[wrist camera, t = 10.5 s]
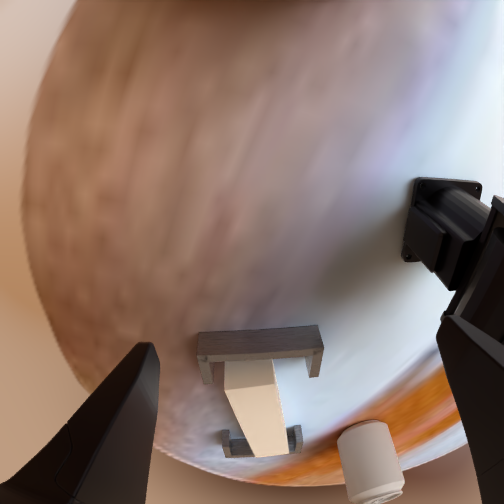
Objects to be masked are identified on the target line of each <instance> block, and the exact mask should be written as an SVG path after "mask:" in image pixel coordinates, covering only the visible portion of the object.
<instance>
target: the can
mask: <svg viewBox="0 0 504 504" xmlns="http://www.w3.org/2000/svg"><path fill="white" fill-rule="evenodd" d="M337 445H338V450H339V455H340V459H341V464H342V468H343V473H344V478H345V483H346V488H347V492H348V497H349V500H350V501H351V502H353V503H355V504H381V503H384V502H387V501H389V500H392V499H394V498H396V497H398V496H400V495H401V494H402V493H403V492H402V491H401V488H402V487H403V485H404V483H405V481H404V477H403V474H402V470H401V467H400V464H399V461H398V457H397V454H396V451H395V448H394V445H393V441H392V438H391V435H390V432H389V429H388V426H387V424H385V423H383V422H380V421H378V420H369V421H364V422H360V423H358V424H355V425H353V426H351V427H349V428H347V429H346V430H345V431H343V433H342V434H341V436H340V437H339V438H338V440H337Z"/></svg>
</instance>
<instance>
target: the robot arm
mask: <svg viewBox="0 0 504 504" xmlns="http://www.w3.org/2000/svg"><path fill="white" fill-rule="evenodd" d="M421 183H423V186H422V187H420V185H421ZM476 187H477V189H476ZM481 193H482V185H481V184H480V183H479V182H477V181H468V180H457V179H443V178H428V177H419V178H417V179H416V181H415V183H414V190H413V196H412V202H411V207H410V209H409V214H408V219H407V225H406V230H405V235H404V244H403V249H402V253H401V257H402V259H403V260H404V261H405V262H419V261H422V263H423V264H424V265H425V266H426V267H427V269H428V270H429V271H430V272H431V273H433V272H434V273H435V274H436V275H437V277H438V278H439V279H440V280H441V282H442V283H443V284H444V285H445V287H446V288H447V289H448V290H449V291H454V290H456V292H455V294H454V296H453V298H452V300H451V302H450V304H449V306H448V308H447V309H446V311H444V312H443V314H442V316H441V318H440V320H441V325H440V327H439V329H438V332H437V334H436V341H437V344H438V348H439V351H440V354H441V358H442V362H443V365H444V369H445V373H446V376H447V379H448V382H449V385H450V388H451V391H452V393H453V396H454V399H455V402H456V405H457V408H458V411H459V414H460V417H461V420H462V424H463V427H464V430H465V433H466V437H467V440H468V444H469V447H470V451H471V455H472V459H473V463H474V467H475V471H476V475H477V480H478V485H479V489H480V495H481V500H482V504H504V198H502V197H499V196H496V195H494V196H493V199H492V202H491V204H492V207H491V208H489V207H488V206H486V205H485V204H484V203H482V202H481V201H480V197H481ZM408 254H409V256H407V255H408ZM406 256H407V257H406ZM159 377H160V361H159V358H158V356H157V353H156V350H155V347H154V345H153V343H151V342H138V343H137V344H136V345H135V346H134V347H133V348H132V349H131V351H130V352H129V353H128V354H127V355H126V356H125V357H124V358H123V359H122V360H121V362H120V363H119V364H118V365H117V366H116V367H115V368H114V369H113V370H112V372H111V373H110V374H109V375H108V376H107V377H106V378H105V379H104V381H103V382H102V383H101V384H100V385H99V386H98V387H97V388H96V390H95V391H94V392H93V393H92V394H91V395H90V396H89V397H88V399H87V400H86V401H85V402H84V403H83V404H82V405H81V407H80V408H79V409H78V410H77V411H76V412H75V413H74V414H73V416H72V417H71V418H70V419H69V420H68V421H67V424H65V425H64V426H63V427H62V428H61V429H60V430H59V432H58V433H57V434H56V435H55V436H54V437H53V438H52V440H50V442H49V443H48V444H47V445H46V446H45V447H43V448H42V449H41V450H40V451H39V452H38V453H37V454H36V455H35V456H34V457H33V458H32V459H31V460H30V461H29V462H28V463H27V464H26V465H24V467H22V468H21V469H20V470H19V471H18V472H17V473H16V474H15V475H14V476H12V477H11V478H10V479H9V480H7V481H5V482H3V483H1V484H0V504H145V500H146V491H147V483H148V475H149V468H150V467H149V466H150V460H151V453H152V446H153V440H154V433H155V427H156V420H157V413H158V395H159Z"/></svg>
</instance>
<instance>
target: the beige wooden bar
mask: <svg viewBox="0 0 504 504" xmlns="http://www.w3.org/2000/svg"><path fill="white" fill-rule="evenodd" d="M224 391H225V393H226V395H227V398H228V400H229V402H230V404H231V407H232V409H233V411H234V413H235V415H236V418H237V420H238V422H239V424H240V426H241V428H242V430H243V432H244V435H245V437H246V439H247V441H248V443H249V445H250V447H251V449H252V451H253V453H254V455H255V457H256V458H257V457H267V456H275V455H283V454H289V448H288V440H287V432H286V426H285V421H284V416H283V410H282V405H281V400H280V395H279V390H278V385H277V380H276V375H275V370H274V365H273V360H272V359H265V360H248V361H225V370H224Z"/></svg>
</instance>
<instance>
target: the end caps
mask: <svg viewBox="0 0 504 504" xmlns="http://www.w3.org/2000/svg"><path fill="white" fill-rule="evenodd" d="M323 351H324V345H323V342H322V339H321V335H320V332H319V328H318V325H314V326H303V327H291V328H278V329H263V330H246V331H225V332H199V338H198V347H197V359H198V363H199V367H200V371H201V375H202V379H203V382H204V384H213V382H214V362H225V361H248V360H265V359H279V358H291V357H301V356H305V361H306V365H307V370H308V375H309V378H311V377H318V376H319V371H320V366H321V361H322V356H323ZM287 440H288V448H289V454H295V453H301V449H302V445H303V436H302V430H301V425H296V426H294V430H293V435H291V436H287ZM222 448H223V451H224V454H225V457H226V458H239V457H255V455H254V453H253V451H252V449H251V447H250V445H249V443H248V441H247V439H231V436H230V432H229V430H222ZM283 455H285V454H283Z"/></svg>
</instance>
